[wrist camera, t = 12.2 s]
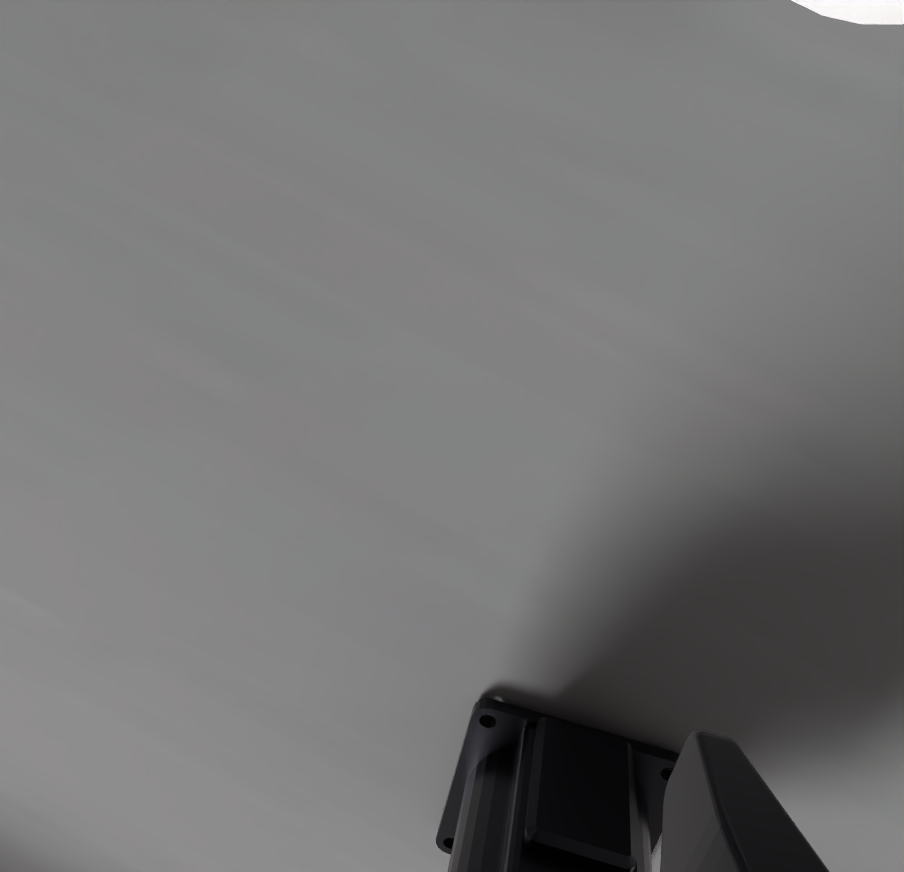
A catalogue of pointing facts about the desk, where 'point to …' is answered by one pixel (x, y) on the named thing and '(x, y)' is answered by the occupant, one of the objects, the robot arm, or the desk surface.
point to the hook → (859, 10)
